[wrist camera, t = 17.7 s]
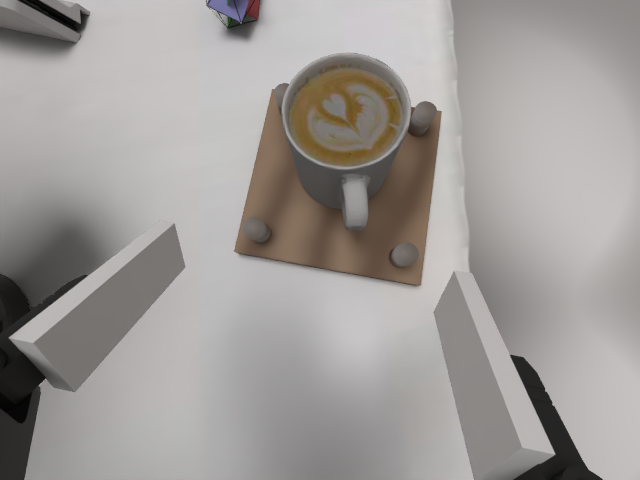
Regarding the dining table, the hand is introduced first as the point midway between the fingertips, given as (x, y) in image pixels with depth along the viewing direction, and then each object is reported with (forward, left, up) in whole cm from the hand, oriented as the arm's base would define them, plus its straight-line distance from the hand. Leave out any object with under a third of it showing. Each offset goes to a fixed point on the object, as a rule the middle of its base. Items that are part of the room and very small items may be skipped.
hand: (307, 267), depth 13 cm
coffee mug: (-6, +9, -16) cm, 19 cm away
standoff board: (-6, +9, -17) cm, 20 cm away
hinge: (-54, -3, -18) cm, 57 cm away
